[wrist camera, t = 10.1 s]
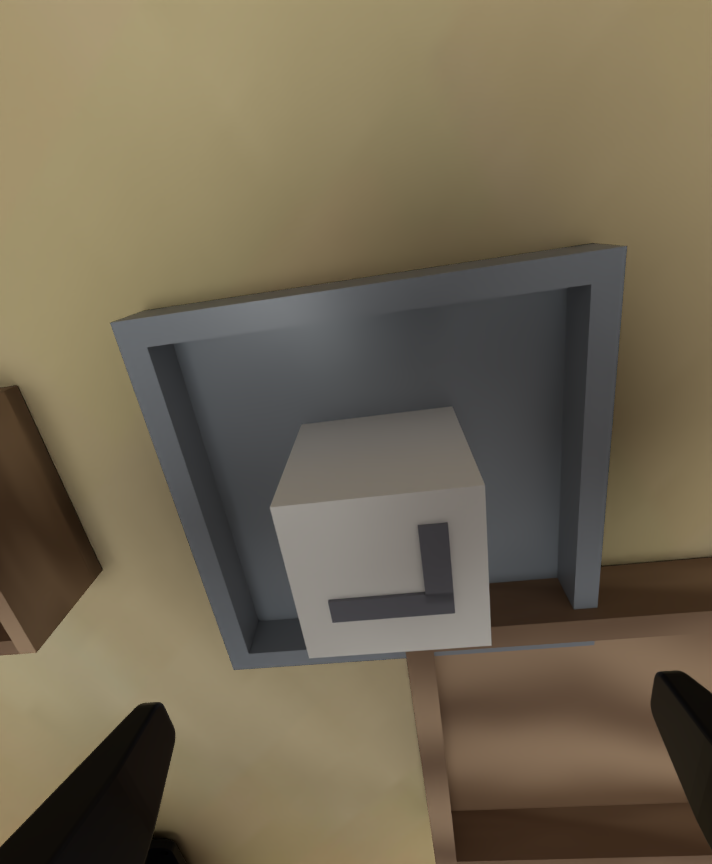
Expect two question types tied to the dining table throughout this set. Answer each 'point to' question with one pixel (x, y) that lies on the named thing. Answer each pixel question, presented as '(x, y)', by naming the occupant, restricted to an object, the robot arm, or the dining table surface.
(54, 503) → the box
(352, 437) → the letter cube
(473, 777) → the brown wooden tray
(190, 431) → the tray
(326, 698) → the dining table surface
